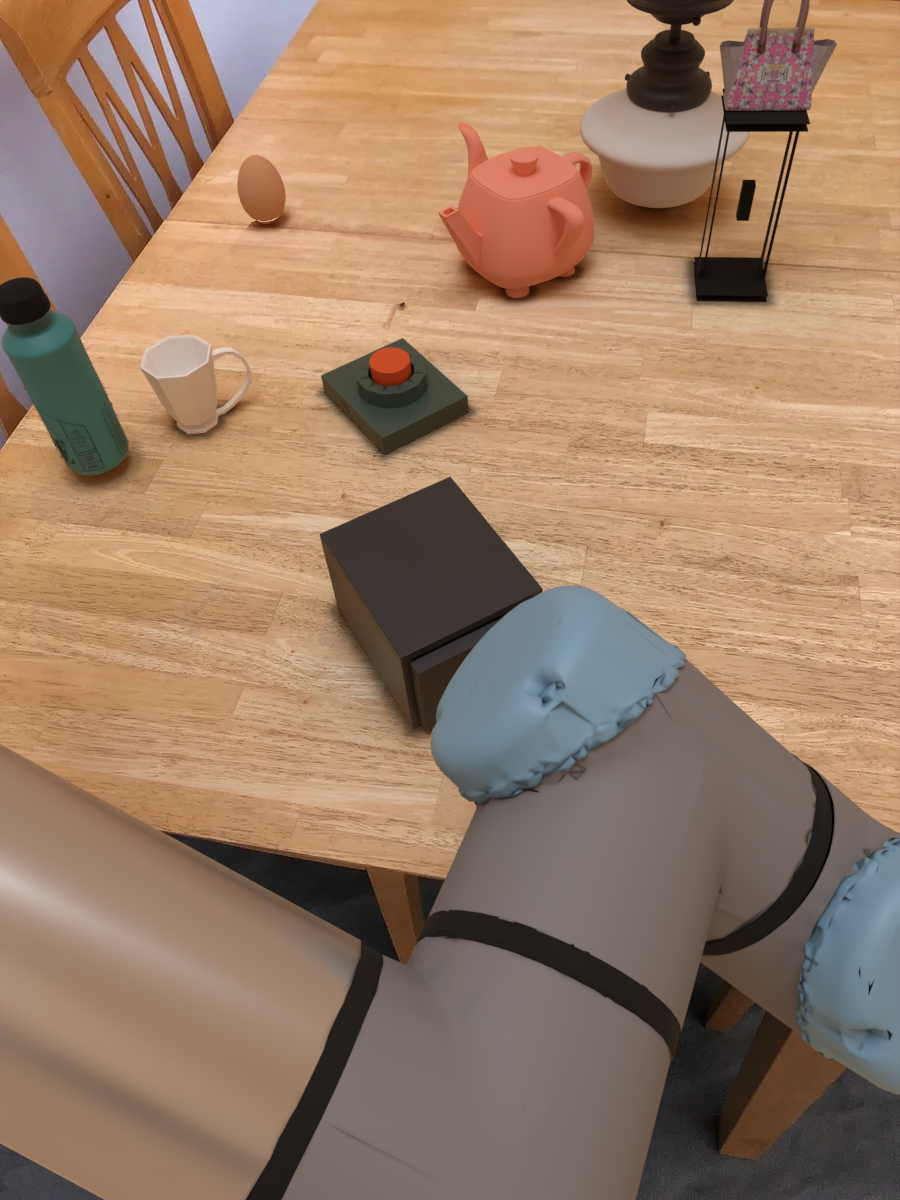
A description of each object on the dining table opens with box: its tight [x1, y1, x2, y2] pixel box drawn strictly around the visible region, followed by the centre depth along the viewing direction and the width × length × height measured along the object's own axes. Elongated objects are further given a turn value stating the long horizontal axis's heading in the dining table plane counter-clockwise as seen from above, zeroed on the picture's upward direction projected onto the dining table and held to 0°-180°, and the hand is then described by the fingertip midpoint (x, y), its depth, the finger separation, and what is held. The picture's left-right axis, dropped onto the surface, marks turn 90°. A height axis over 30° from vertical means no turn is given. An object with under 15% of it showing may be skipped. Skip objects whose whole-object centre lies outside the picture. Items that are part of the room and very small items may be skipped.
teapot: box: [438, 122, 595, 299], centre depth 103 cm, size 16×17×14 cm
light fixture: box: [579, 0, 751, 209], centre depth 105 cm, size 20×20×25 cm
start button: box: [369, 347, 411, 386], centre depth 91 cm, size 4×4×2 cm
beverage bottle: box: [0, 277, 129, 476], centre depth 83 cm, size 6×7×20 cm
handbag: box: [693, 0, 838, 303], centre depth 92 cm, size 10×8×30 cm
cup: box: [139, 334, 253, 435], centre depth 92 cm, size 7×10×8 cm
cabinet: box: [319, 476, 544, 729], centre depth 72 cm, size 14×12×10 cm
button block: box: [320, 337, 469, 455], centre depth 93 cm, size 12×10×4 cm
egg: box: [236, 154, 287, 225], centre depth 114 cm, size 6×6×8 cm
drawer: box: [410, 611, 510, 732], centre depth 71 cm, size 14×10×8 cm
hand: (493, 744), depth 64 cm, fingers closed
